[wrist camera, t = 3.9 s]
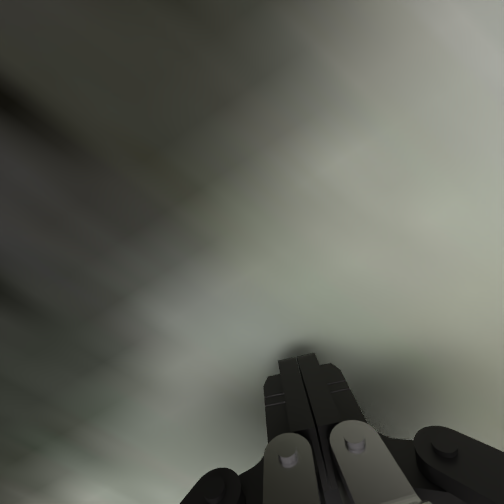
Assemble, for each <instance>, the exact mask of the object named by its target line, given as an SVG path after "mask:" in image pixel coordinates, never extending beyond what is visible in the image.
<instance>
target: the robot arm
mask: <svg viewBox="0 0 504 504" xmlns="http://www.w3.org/2000/svg"><path fill="white" fill-rule="evenodd" d="M297 360H298V364H297V361H296V357H293V358H289V359H284V360H279V361H278V363H279V369H280V374H278V375H273V376H268V378H267V380H266V382H265V384H264V397H265V411H266V424H267V436H268V445H267V447H266V449H265V452H264V456H263V458H262V459H261V461H260V462H259V463H258V464H257V465H255V466H254V467H253V468H251V469H249V470H248V471H246V472H244V473H242V474H240V475H239V476H238V475H237V474H236V473H235V472H234V471H233V470H231V469H228V468H217V469H214V470H211V471H209V472H208V473H206V474H205V475H204V476H203V477H201V478H200V480H199V481H198V482H197V483H196V484H195V486H194V487H193V488H192V489H191V490H190V492H189V493H188V494H187V495H186V497H185V498H184V499H183V500H182V501H181V503H180V504H326V501H325V497H324V492H323V491H328V490H329V489H328V484H327V479H326V475H325V470H326V473H327V477H328V481H329V484H330V488H331V490H332V489H337V488H338V490H339V493H340V496H341V499H342V503H343V504H504V452H502V451H500V450H498V449H495V448H493V447H491V446H489V445H486V444H484V443H482V442H480V441H477V440H475V439H473V438H470V437H468V436H466V435H464V434H461V433H459V432H457V431H455V430H452V429H450V428H446V427H441V426H429V427H425V428H423V429H421V430H419V431H418V432H417V433H416V435H415V437H414V441H413V440H402V439H394V438H389V437H386V436H384V435H381V434H379V433H378V432H377V431H376V430H375V429H374V428H373V427H372V426H370V425H369V424H368V423H367V422H366V420H365V418H364V416H363V414H362V412H361V410H360V408H359V406H358V404H357V402H356V400H355V398H354V396H353V394H352V392H351V390H350V389H349V386H348V384H347V382H346V381H345V378H344V376H343V374H342V372H341V370H340V369H338V368H337V367H336V366H334V365H333V364H331V363H329V364H324V365H319V363H318V360H317V358H316V355H315V353H312V354H307V355H302V356H298V357H297ZM298 365H299V368H298ZM299 369H300V371H299ZM300 374H301V375H300ZM321 455H322V456H321ZM322 459H323V461H322ZM323 462H324V466H325V470H324V466H323Z"/></svg>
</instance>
